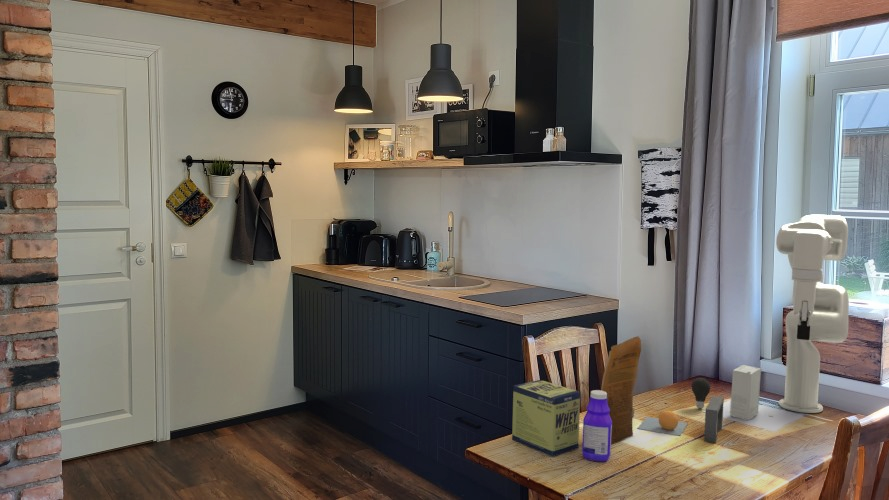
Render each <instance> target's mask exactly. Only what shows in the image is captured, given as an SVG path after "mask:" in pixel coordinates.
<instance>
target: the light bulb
mask: <svg viewBox="0 0 889 500" xmlns="http://www.w3.org/2000/svg"><path fill="white" fill-rule="evenodd" d="M691 390H692V393H693V395H694V397H695V399H694V400H695V401H696V402H695V407H696V408H698V410H702V409H704V407H705V402H706V399H707V396H708V395H709V394H710V392H711V383H710V382H709V381H708V380H707V379H706V378H704V377H697V378H695V379H694V380H693V381H692V383H691Z"/></svg>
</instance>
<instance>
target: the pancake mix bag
mask: <svg viewBox="0 0 889 500" xmlns="http://www.w3.org/2000/svg"><path fill="white" fill-rule="evenodd" d="M610 349H611V350H609V352H608V356H607V359H606V360H607V361H606V364H605V367H604V372H603V376H602V382H601V390H600V391H605V392H606V393H607V404H608V407H609V409H610V411H609V415H610V418H611V421H612V430H611V445H613V444H614V445H615V444H616V443H619V442H620V441H623V440H625V439H627V438H630V437H633V434H634V433H633V421H634V420H633V419H634V417H633V408H634V406H633V402H634V401H633V400H634V389H635V385H636V381H637V378H638V371H639V369H638V368H639V362H640V361H639V360H640V358H641V352H642V340H641V338H640V337H639V335H637V336H634V337H632V338H629V339H627V340H625V341H623V342H620V343H618V344H615V345H612V346H611V347H610Z"/></svg>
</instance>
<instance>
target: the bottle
mask: <svg viewBox="0 0 889 500" xmlns="http://www.w3.org/2000/svg"><path fill="white" fill-rule="evenodd" d="M609 411H610V409H609V407H608V404H607V393H606V392H605V391H601V390H600V389H595V390H594V389H593V390H590V397H589V402H588V405H587V406H586V413H585V415H584V417H583V421H582V446H581V453H582V456H583V458H584V459H586V460H589V461H595V462H607V461H608V460H609V458H610V456H611V450H612V449H611V447H612V444H611V430H612V421H611V418H610V415H609Z"/></svg>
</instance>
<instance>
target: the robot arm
mask: <svg viewBox="0 0 889 500" xmlns="http://www.w3.org/2000/svg"><path fill="white" fill-rule="evenodd" d="M848 239H849V226H848V223H847V220H846V218H845V217H843V216H841V215H837V214H836V215H835V214H834V215H833V214H830V215H829V214H828V215H827V214H810V215H809V214H808V215H805V216H802V217H800V218H799V220H798V221H797V222H794V223H787V224H784V225H782V226H781V227H780V228H779V230H778V233H777V235H776V239H775V241H776V249H777V251H778V252H779V253H780V254H782V255H787V258H788V262H789V265H790V267H791V280H792V281H793V287H792V304H793V310H790V311H789V312H788V313H787V315H786V316H785V331H786V360H785V361H786V363H785V364H786V365H785V381H784V382H785V385H784V396H783V397H784V398H781V399H780V400H778V405H779V407H781V408H783V409H784V410H788V411H792V412H796V413H802V414H804V413H805V414H818V413H821V412H823V410H824V406H823V405H822V404H821V403H819V386H820V385H819V384H820V372H821V371H820V370H821V354H820V351H819V350H818V348H817V347H816V346H815V344H814V343H813V342H824V343H833V344H835V343H836V344H839V343H840V344H841V343H843V342H845V341H846V340H847V338H848V335H849V315H850V313H849V310H850V309H849V308H850V307H849V301H850V300H849V293H848V291H847V289H846V288H845V287H844V286H841V285H836V284H828V283H827V284H825V283H823V280H824V276H823V261H841V260H843V259H844V258H845V256H846V255H847V251H848Z"/></svg>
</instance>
